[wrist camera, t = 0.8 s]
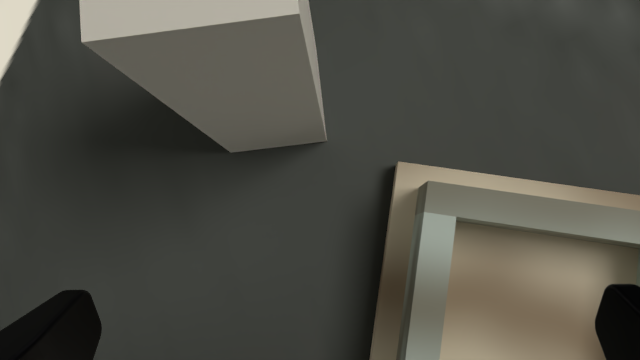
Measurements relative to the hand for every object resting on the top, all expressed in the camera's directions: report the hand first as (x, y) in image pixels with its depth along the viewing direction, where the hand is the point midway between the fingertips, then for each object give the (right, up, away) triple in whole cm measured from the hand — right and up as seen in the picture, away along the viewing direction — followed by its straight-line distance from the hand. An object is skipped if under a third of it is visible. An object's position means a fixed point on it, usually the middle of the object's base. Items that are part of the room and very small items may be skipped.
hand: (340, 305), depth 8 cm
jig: (+8, -4, +12) cm, 15 cm away
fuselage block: (-2, +6, +14) cm, 15 cm away
